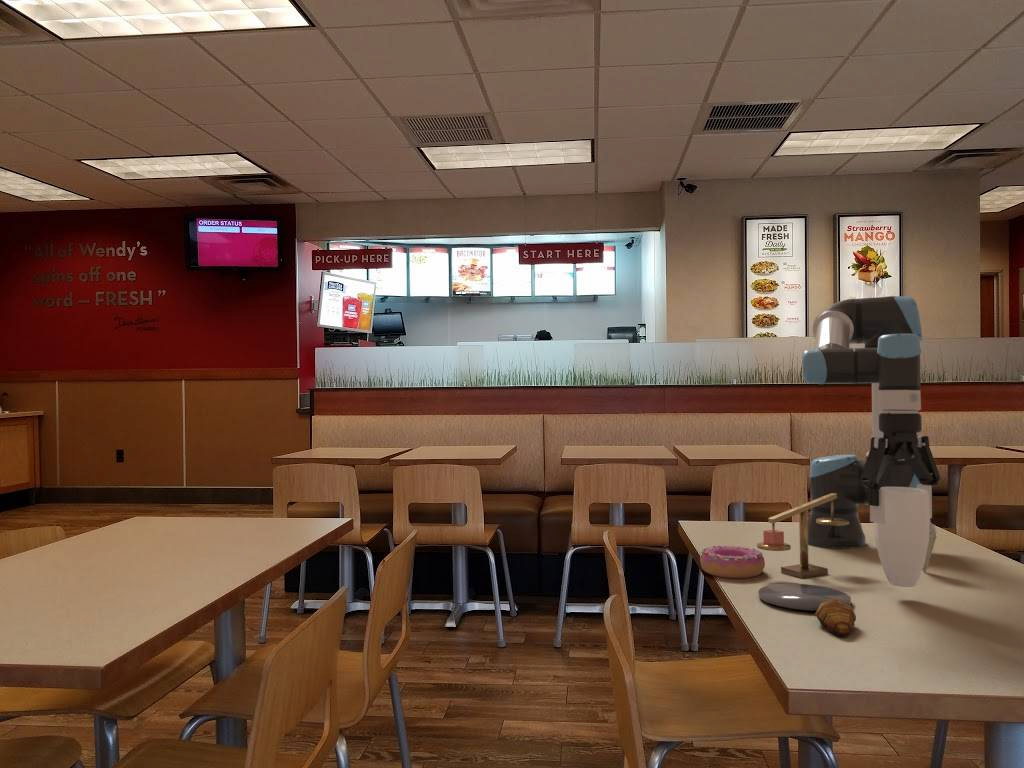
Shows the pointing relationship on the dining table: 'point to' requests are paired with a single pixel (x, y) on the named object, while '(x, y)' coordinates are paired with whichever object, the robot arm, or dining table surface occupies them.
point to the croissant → (836, 617)
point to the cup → (903, 534)
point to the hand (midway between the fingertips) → (901, 520)
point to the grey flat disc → (801, 595)
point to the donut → (732, 561)
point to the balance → (776, 538)
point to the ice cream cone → (930, 545)
